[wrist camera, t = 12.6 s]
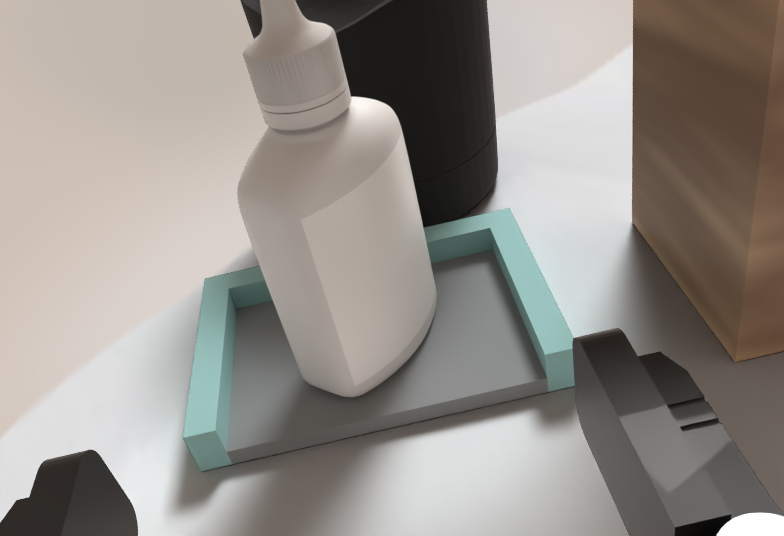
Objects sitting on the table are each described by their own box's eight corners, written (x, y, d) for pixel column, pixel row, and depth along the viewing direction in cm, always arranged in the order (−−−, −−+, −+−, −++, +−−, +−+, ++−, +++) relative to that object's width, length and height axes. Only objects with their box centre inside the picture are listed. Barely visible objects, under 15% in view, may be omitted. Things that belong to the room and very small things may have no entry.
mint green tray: (201, 471, 23) (182, 437, 22) (218, 309, 29) (204, 278, 28) (580, 384, 23) (578, 347, 22) (513, 241, 29) (509, 207, 28)
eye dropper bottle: (479, 338, 24) (414, -38, 17) (326, 420, 23) (186, 44, 16) (414, 276, 27) (337, -60, 20) (277, 344, 26) (144, 5, 19)
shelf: (100, 520, 22) (-450, -235, 11) (145, 327, 29) (-156, -245, 18) (823, 355, 22) (1033, -597, 10) (686, 201, 29) (724, -460, 18)
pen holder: (431, 119, 39) (396, -81, 33) (552, 180, 32) (535, -59, 26) (274, 193, 36) (205, -13, 30) (370, 277, 29) (305, 31, 23)
